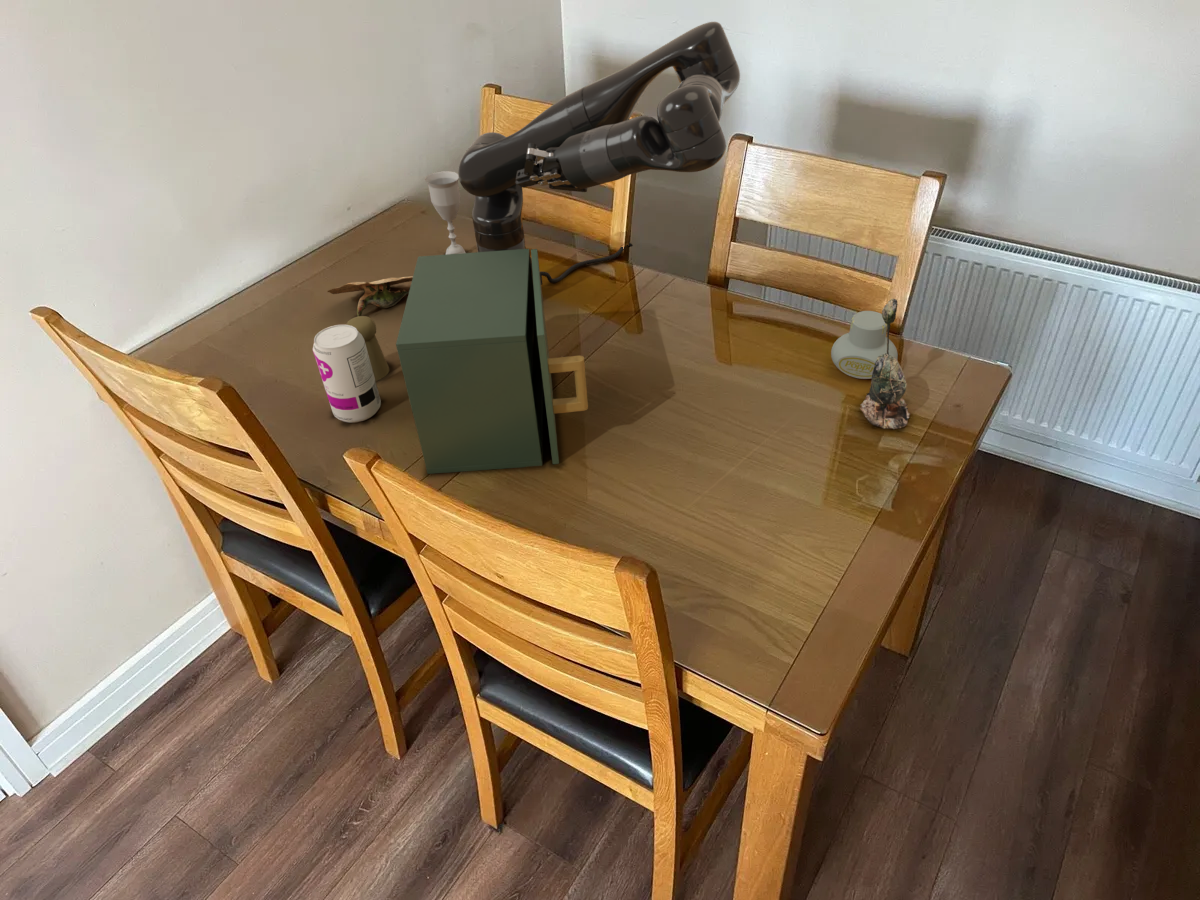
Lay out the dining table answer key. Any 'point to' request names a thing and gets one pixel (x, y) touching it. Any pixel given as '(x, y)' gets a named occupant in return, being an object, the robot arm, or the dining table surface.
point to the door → (555, 367)
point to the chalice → (446, 202)
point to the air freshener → (862, 345)
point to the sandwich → (375, 292)
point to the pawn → (371, 345)
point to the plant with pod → (887, 385)
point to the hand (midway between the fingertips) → (519, 179)
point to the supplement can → (346, 373)
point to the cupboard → (474, 361)
